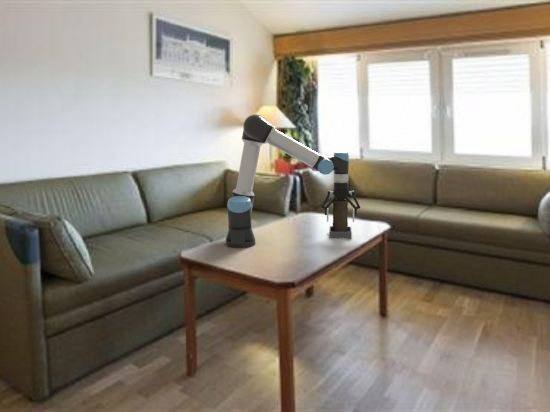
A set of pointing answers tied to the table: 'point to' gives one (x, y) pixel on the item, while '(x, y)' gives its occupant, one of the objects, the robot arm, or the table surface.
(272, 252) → the table surface
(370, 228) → the table surface
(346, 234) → the tray
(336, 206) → the container
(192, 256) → the table surface
